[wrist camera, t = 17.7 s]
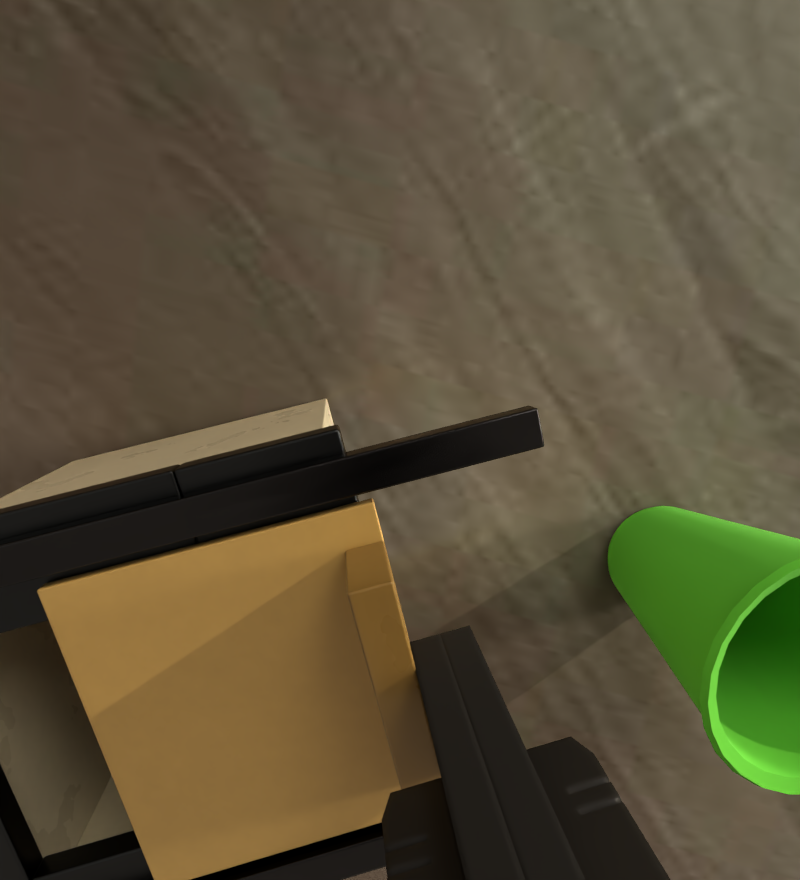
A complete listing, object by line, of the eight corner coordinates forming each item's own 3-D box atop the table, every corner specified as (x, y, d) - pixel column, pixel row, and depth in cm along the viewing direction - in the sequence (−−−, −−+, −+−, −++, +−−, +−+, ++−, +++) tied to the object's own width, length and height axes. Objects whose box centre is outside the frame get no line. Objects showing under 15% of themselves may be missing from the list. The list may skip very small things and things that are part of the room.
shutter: (43, 583, 14) (-28, 645, 11) (372, 497, 14) (382, 536, 12) (161, 876, 16) (125, 992, 13) (447, 791, 16) (471, 884, 13)
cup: (547, 617, 30) (669, 782, 19) (598, 450, 28) (760, 525, 17) (701, 644, 31) (896, 811, 20) (756, 485, 29) (998, 575, 19)
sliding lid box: (54, 451, 25) (-229, 576, 13) (437, 357, 26) (534, 384, 14) (147, 698, 28) (-8, 1007, 15) (491, 603, 29) (613, 816, 16)
